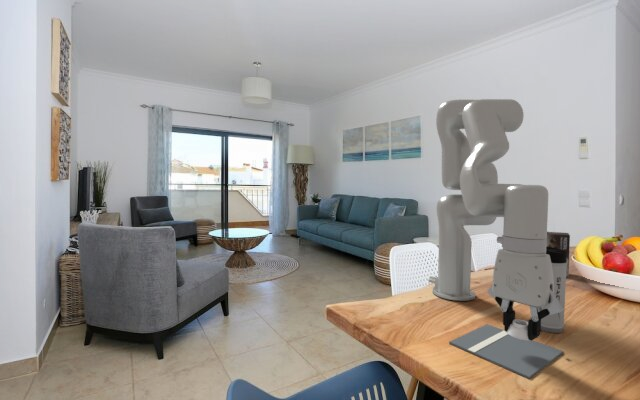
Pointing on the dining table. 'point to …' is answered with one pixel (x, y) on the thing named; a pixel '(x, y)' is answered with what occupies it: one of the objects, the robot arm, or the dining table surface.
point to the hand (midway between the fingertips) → (520, 333)
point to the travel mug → (556, 291)
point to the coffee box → (560, 244)
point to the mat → (507, 350)
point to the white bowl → (518, 329)
